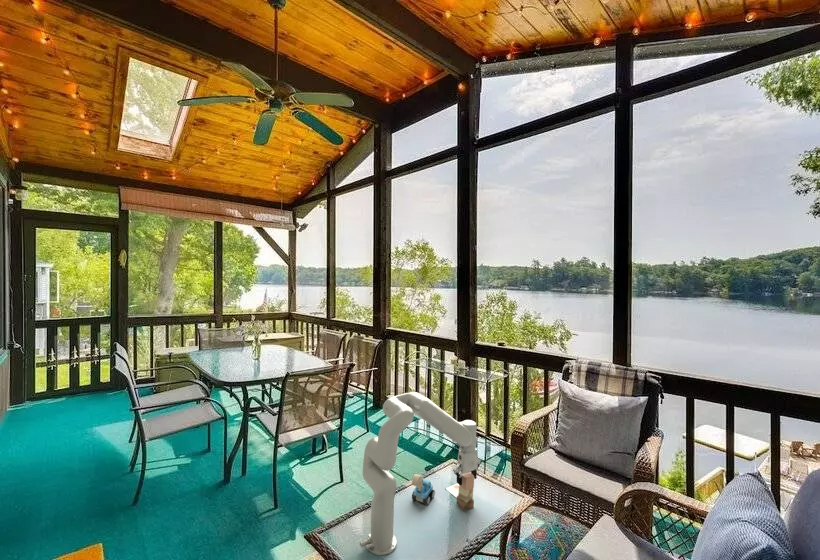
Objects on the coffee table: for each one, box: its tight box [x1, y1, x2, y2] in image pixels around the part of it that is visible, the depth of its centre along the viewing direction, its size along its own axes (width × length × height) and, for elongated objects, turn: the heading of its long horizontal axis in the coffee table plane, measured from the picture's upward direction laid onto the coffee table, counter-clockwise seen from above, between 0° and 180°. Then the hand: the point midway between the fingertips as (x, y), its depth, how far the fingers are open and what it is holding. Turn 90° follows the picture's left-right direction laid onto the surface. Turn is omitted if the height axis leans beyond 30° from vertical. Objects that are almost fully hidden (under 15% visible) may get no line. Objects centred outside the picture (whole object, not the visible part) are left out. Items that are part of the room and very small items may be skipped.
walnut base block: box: [456, 496, 475, 512], centre depth 185 cm, size 6×6×4 cm
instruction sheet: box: [445, 482, 460, 499], centre depth 198 cm, size 12×9×1 cm
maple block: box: [458, 486, 474, 503], centre depth 185 cm, size 5×5×6 cm
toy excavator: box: [411, 473, 436, 506], centre depth 186 cm, size 9×17×17 cm, turn 152°
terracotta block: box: [460, 471, 475, 491], centre depth 184 cm, size 5×5×6 cm
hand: (466, 480), depth 184 cm, fingers open, 9 cm apart
